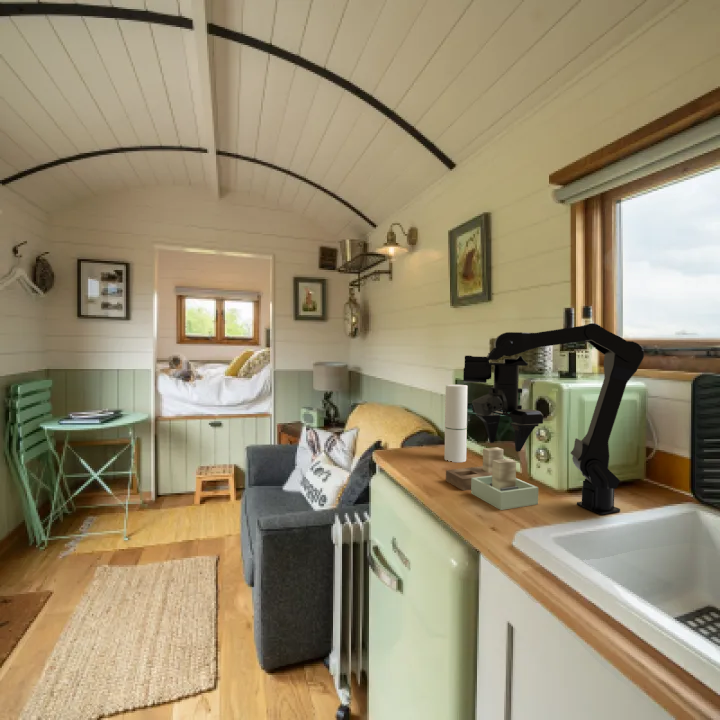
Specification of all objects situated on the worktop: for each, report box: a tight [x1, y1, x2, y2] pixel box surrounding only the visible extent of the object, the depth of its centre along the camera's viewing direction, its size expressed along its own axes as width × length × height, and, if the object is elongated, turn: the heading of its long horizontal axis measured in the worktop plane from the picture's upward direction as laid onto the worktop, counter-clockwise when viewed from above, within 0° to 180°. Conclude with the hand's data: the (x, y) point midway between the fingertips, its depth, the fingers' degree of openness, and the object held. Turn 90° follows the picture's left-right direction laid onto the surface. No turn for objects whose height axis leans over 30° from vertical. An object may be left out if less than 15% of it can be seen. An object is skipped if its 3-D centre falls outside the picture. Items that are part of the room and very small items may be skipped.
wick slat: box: [482, 447, 504, 473], centre depth 110 cm, size 5×2×9 cm, turn 110°
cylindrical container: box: [443, 384, 469, 463], centre depth 131 cm, size 7×7×25 cm
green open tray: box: [470, 476, 539, 511], centre depth 96 cm, size 11×11×4 cm
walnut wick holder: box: [445, 465, 492, 491], centre depth 108 cm, size 17×8×3 cm, turn 110°
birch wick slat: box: [492, 458, 517, 490], centre depth 96 cm, size 5×2×9 cm, turn 109°
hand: (504, 446), depth 96 cm, fingers open, 9 cm apart
